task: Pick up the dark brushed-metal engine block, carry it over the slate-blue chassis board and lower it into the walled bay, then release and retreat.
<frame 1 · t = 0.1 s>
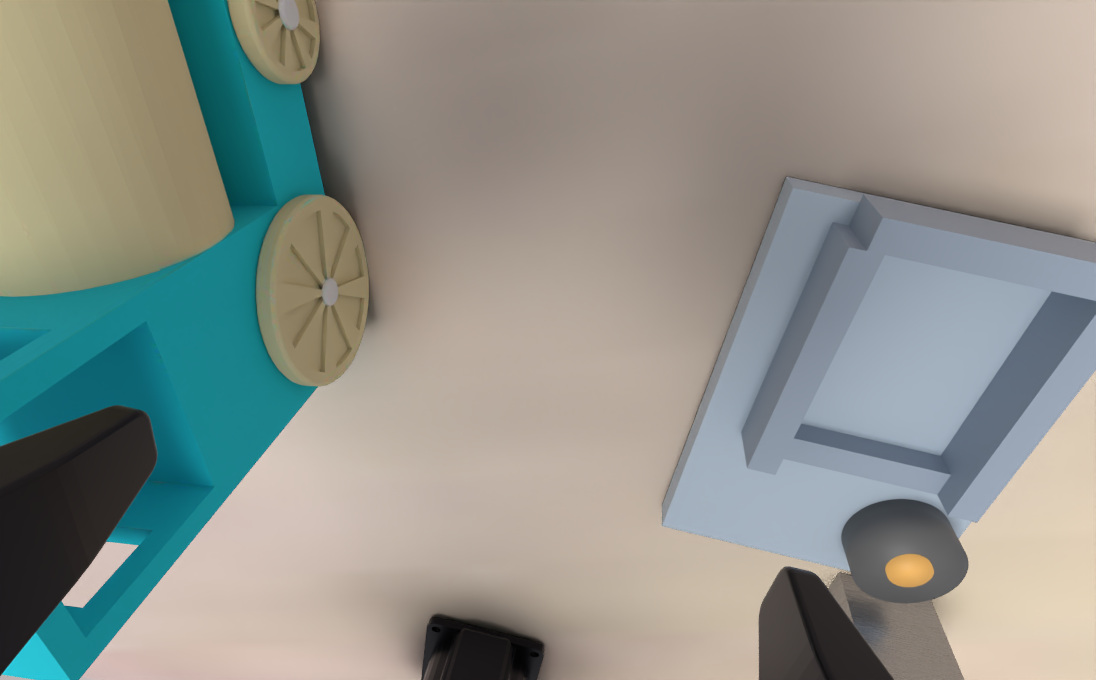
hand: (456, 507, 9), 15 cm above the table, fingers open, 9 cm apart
toy train: (239, 113, 22), on the table
engine block: (859, 615, 30), on the table
chassis: (858, 401, 24), on the table
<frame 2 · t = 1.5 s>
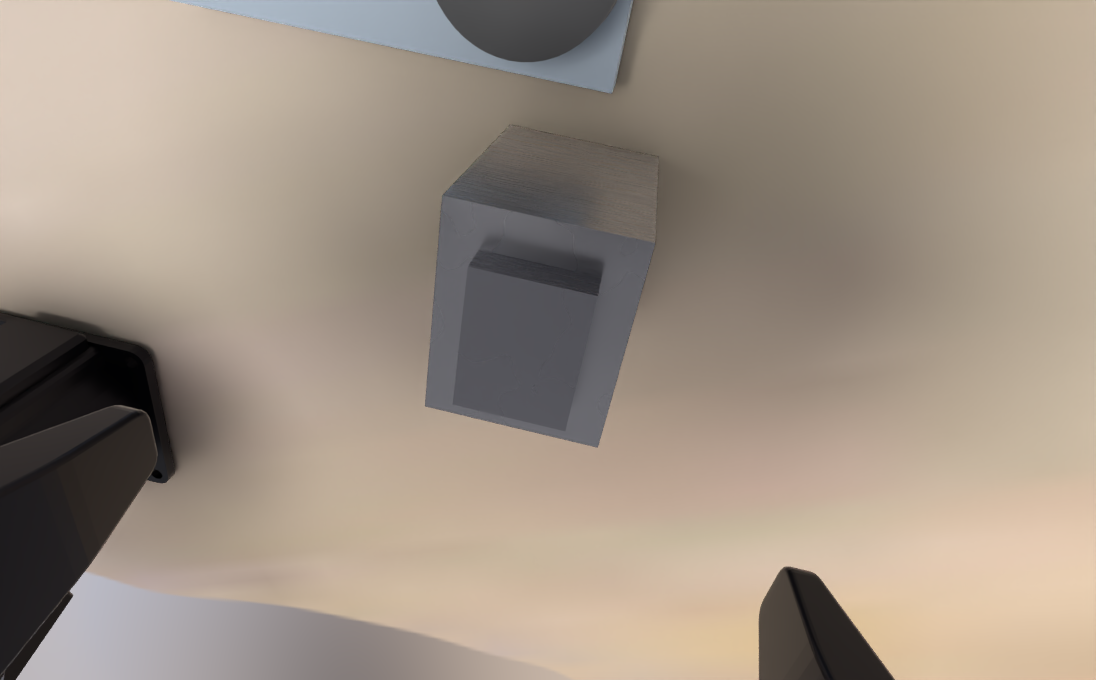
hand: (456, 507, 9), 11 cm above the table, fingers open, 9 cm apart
engine block: (566, 228, 18), on the table
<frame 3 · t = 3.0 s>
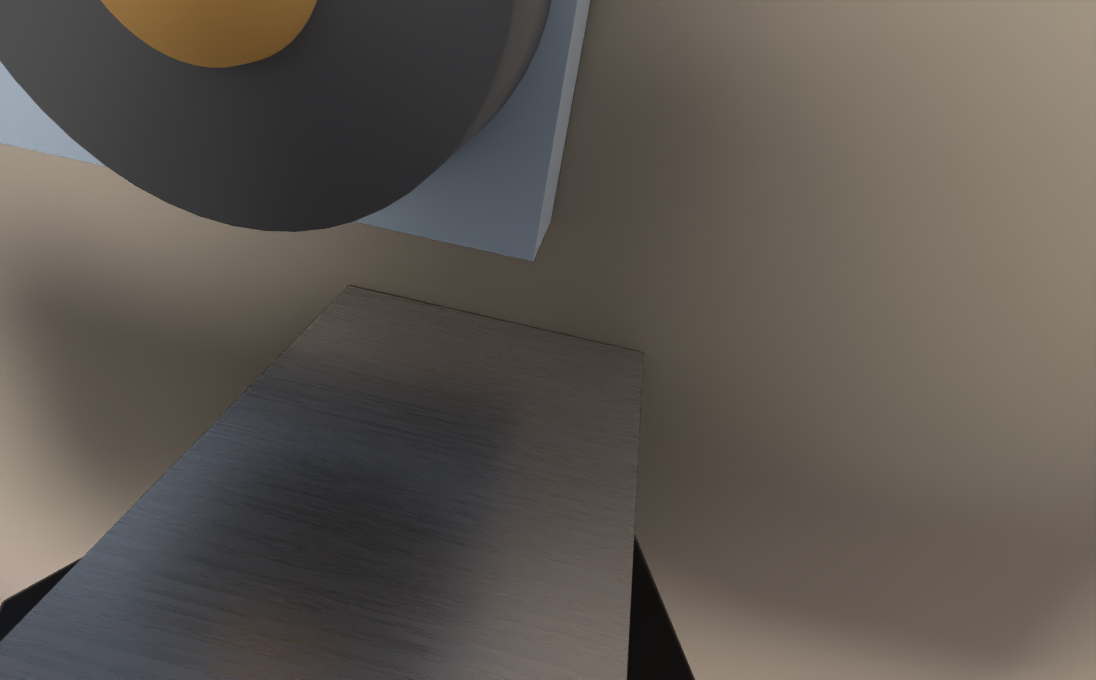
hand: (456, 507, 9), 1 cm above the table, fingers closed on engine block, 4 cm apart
engine block: (474, 458, 10), on the table, touching gripper
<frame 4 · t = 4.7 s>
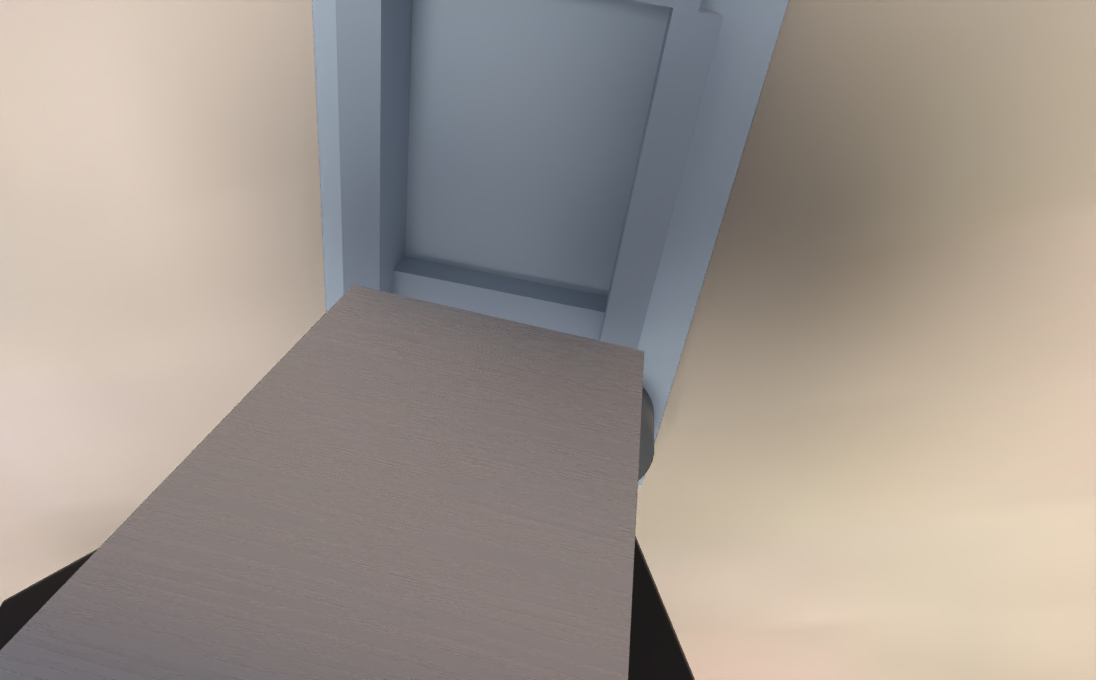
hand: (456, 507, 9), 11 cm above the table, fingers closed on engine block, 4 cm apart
engine block: (477, 455, 10), point 10 cm above the table, touching gripper
chassis: (516, 237, 19), on the table
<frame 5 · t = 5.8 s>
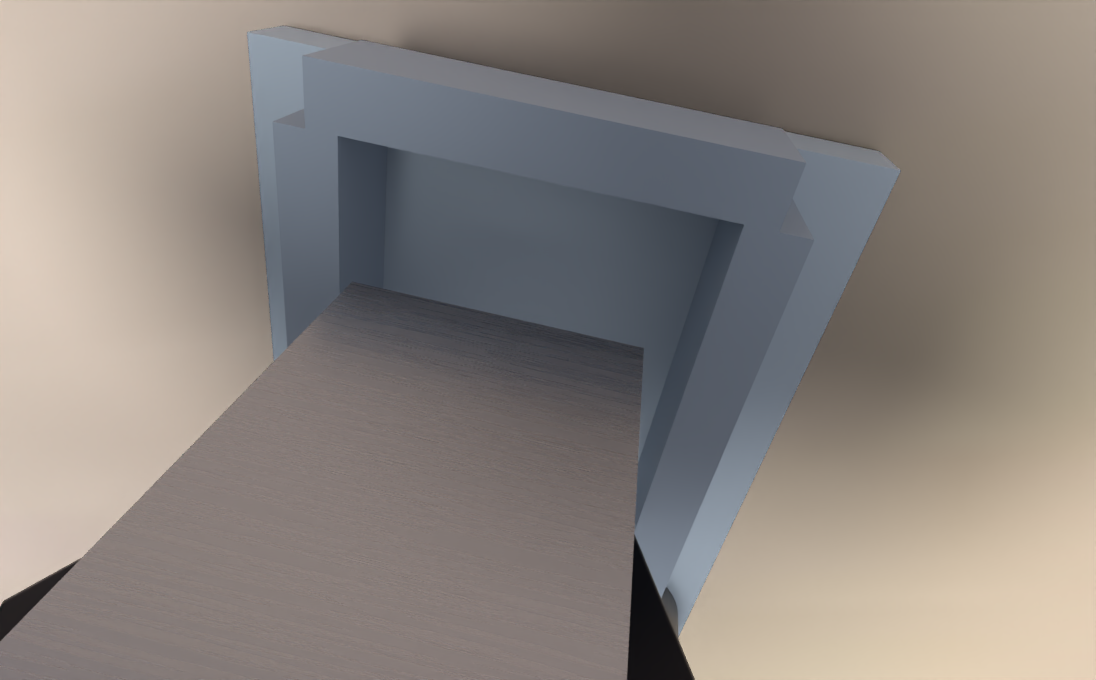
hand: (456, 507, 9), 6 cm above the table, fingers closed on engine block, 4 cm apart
engine block: (476, 453, 10), point 5 cm above the table, touching gripper
chassis: (516, 408, 15), on the table
when the fingers open (4 cm above the table, at t = 6.5 s): engine block drops 2 cm, resting on chassis.
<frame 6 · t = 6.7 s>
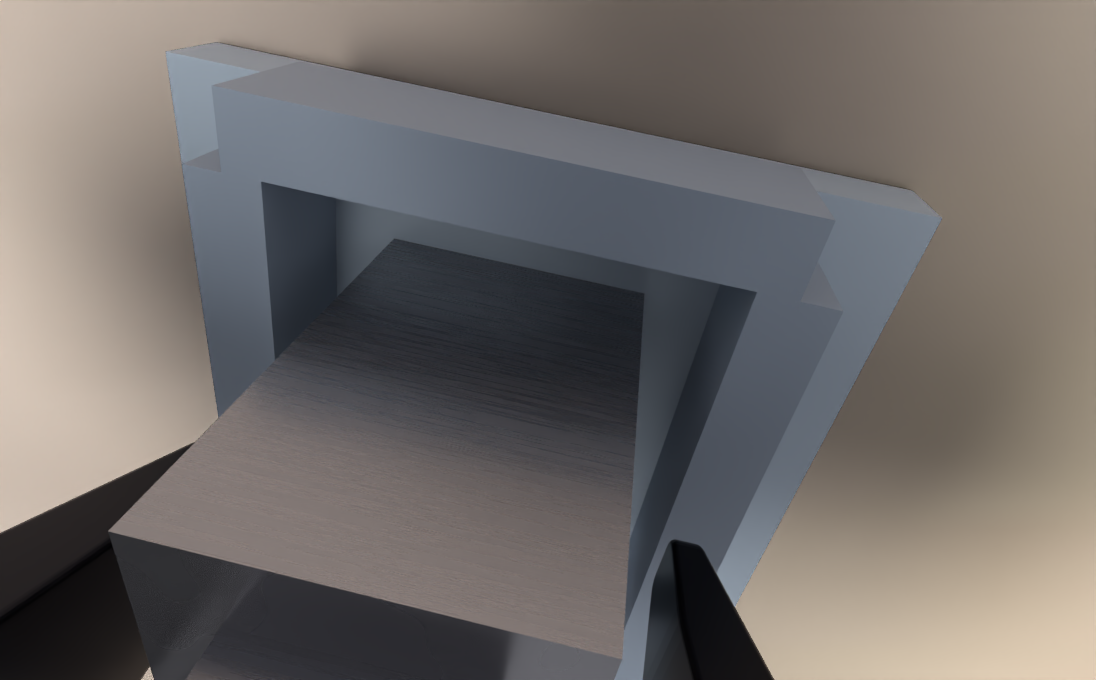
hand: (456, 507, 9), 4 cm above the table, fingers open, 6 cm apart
engine block: (498, 392, 11), point 1 cm above the table, touching chassis
chassis: (495, 467, 14), on the table
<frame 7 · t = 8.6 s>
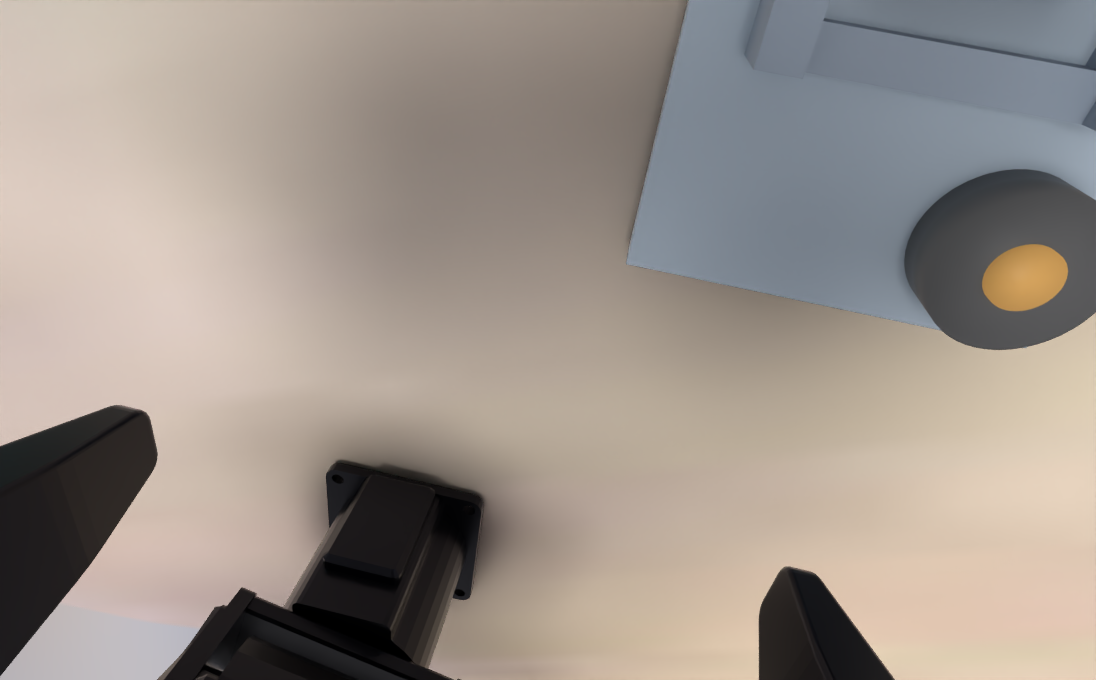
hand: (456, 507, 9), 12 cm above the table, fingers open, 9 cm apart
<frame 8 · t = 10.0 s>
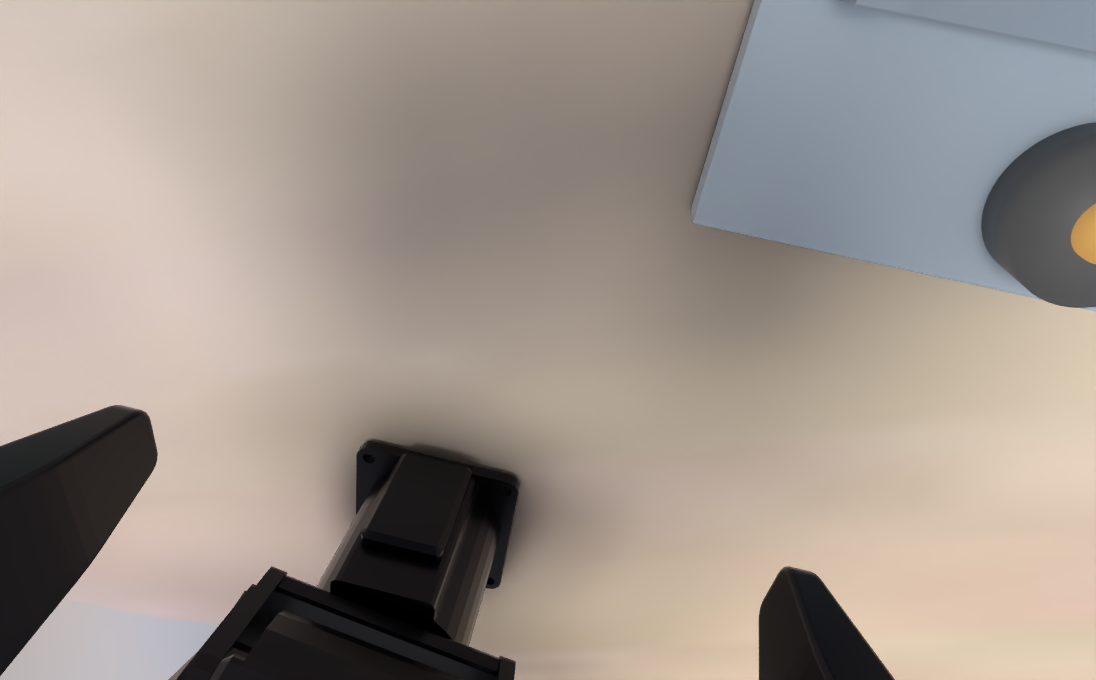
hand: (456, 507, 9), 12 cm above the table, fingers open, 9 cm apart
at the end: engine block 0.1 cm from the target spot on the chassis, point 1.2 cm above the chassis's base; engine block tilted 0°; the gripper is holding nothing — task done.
